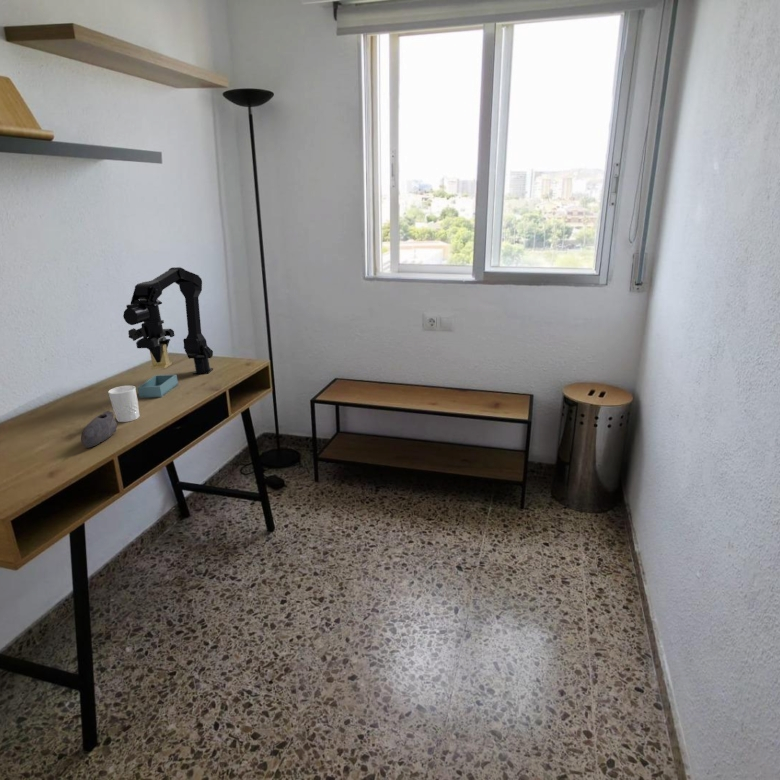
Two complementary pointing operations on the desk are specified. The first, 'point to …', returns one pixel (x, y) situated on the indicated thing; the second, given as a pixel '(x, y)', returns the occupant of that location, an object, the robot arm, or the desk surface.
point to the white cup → (124, 403)
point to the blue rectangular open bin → (157, 386)
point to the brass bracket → (164, 359)
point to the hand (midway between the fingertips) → (160, 361)
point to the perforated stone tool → (99, 429)
